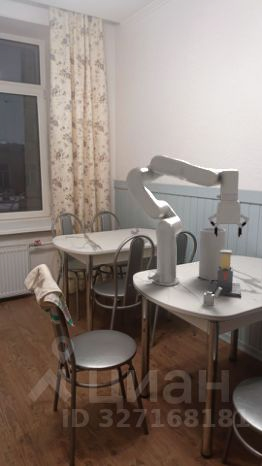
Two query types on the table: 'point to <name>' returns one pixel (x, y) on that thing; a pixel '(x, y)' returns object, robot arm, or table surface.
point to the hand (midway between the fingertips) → (227, 236)
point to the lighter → (211, 297)
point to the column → (225, 259)
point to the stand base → (225, 283)
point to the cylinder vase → (210, 252)
